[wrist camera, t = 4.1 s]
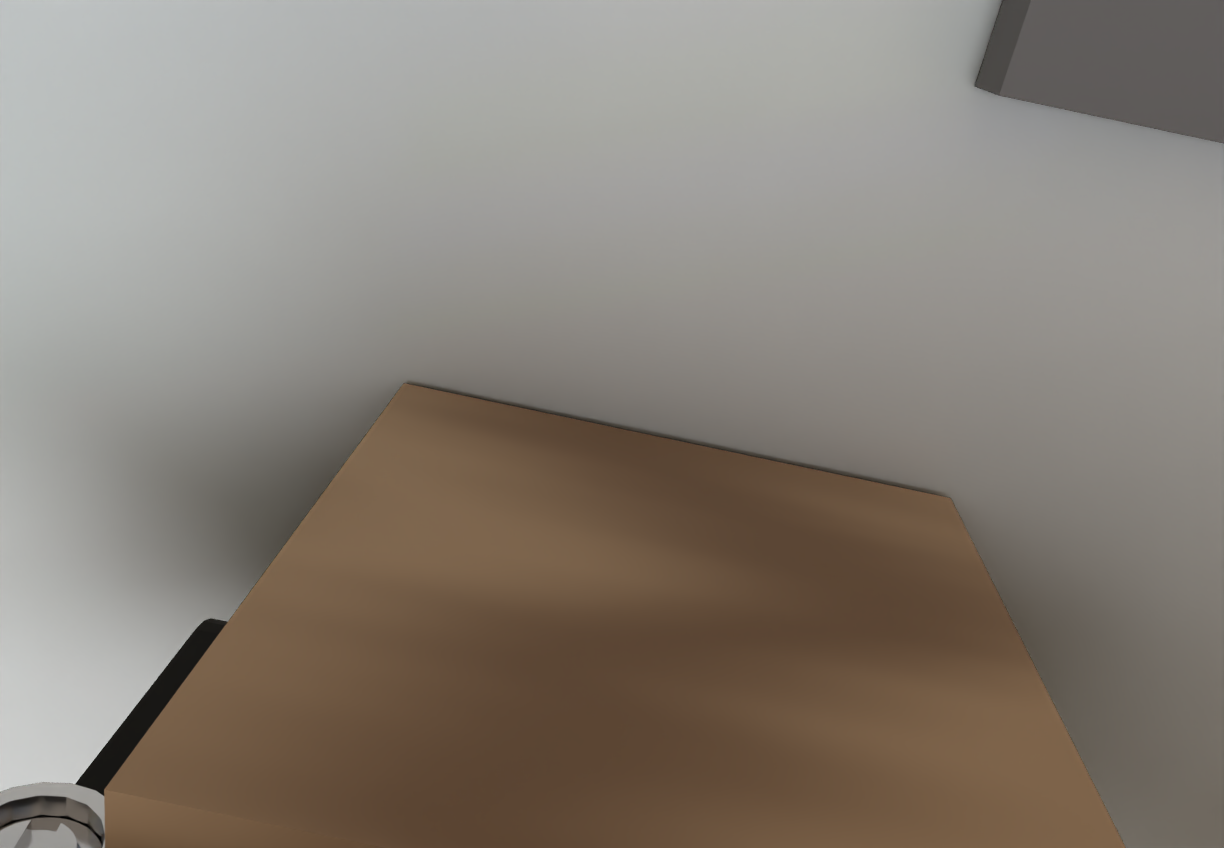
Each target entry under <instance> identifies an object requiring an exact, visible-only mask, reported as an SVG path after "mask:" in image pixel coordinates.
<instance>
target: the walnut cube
mask: <svg viewBox="0 0 1224 848" xmlns="http://www.w3.org/2000/svg"><path fill="white" fill-rule="evenodd" d="M104 808H105V848H1126V847H1125V845H1124V843H1123V841H1122V839H1121V837H1120V835H1119V833H1118V831H1117V829H1116V827H1115V825H1114V823H1113V821H1112V819H1111V817H1110V815H1109V813H1108V811H1107V809H1106V807H1105V805H1104V803H1103V801H1102V799H1101V797H1100V795H1099V793H1098V791H1097V789H1096V787H1095V785H1094V783H1093V781H1092V779H1091V777H1090V775H1089V773H1088V771H1087V769H1086V767H1085V765H1084V763H1083V761H1082V759H1081V757H1080V755H1079V753H1078V751H1077V749H1076V747H1075V745H1074V743H1073V741H1072V739H1071V737H1070V735H1069V733H1068V731H1067V729H1066V727H1065V725H1064V723H1063V721H1062V719H1061V717H1060V715H1059V713H1058V711H1057V709H1056V707H1055V705H1054V703H1053V702H1052V700H1051V698H1050V696H1049V694H1048V692H1047V690H1046V688H1045V686H1044V684H1043V682H1042V680H1041V678H1040V676H1039V674H1038V672H1037V670H1036V668H1035V666H1034V664H1033V662H1032V660H1031V658H1030V656H1029V654H1028V652H1027V650H1026V648H1025V646H1024V644H1023V642H1022V640H1021V638H1020V636H1019V634H1018V632H1017V630H1016V628H1015V626H1014V624H1013V622H1012V620H1011V618H1010V616H1009V614H1008V612H1007V610H1006V608H1005V606H1004V604H1003V602H1002V600H1001V598H1000V596H999V594H998V592H997V590H996V588H995V586H994V584H993V582H992V580H991V578H990V576H989V574H988V572H987V570H986V568H985V566H984V564H983V562H982V560H981V558H980V556H979V554H978V552H977V550H976V548H975V546H974V544H973V542H972V540H971V538H970V536H969V534H968V532H967V530H966V528H965V526H964V524H963V522H962V520H961V518H960V516H959V514H958V512H957V510H956V508H955V506H954V504H953V502H952V500H951V498H948V497H943V496H938V495H933V494H929V493H924V492H919V491H914V490H910V489H905V488H900V487H895V486H891V485H886V484H881V483H876V482H872V481H867V480H862V479H857V478H853V477H848V476H843V475H838V474H834V473H829V472H824V471H819V470H815V469H810V468H805V467H800V466H796V465H791V464H786V463H781V462H777V461H772V460H767V459H762V458H757V457H753V456H748V455H743V454H738V453H734V452H729V451H724V450H719V449H715V448H710V447H705V446H700V445H696V444H691V443H686V442H681V441H677V440H672V439H667V438H662V437H658V436H653V435H648V434H643V433H639V432H634V431H629V430H624V429H620V428H615V427H610V426H605V425H601V424H596V423H591V422H586V421H582V420H577V419H572V418H567V417H563V416H558V415H553V414H548V413H544V412H539V411H534V410H529V409H525V408H520V407H515V406H510V405H506V404H501V403H496V402H491V401H486V400H482V399H477V398H472V397H467V396H463V395H458V394H453V393H448V392H444V391H439V390H434V389H429V388H425V387H420V386H415V385H410V384H406V383H404V384H403V385H402V386H401V388H400V389H399V390H398V392H397V393H396V394H395V396H394V397H393V398H392V400H391V401H390V403H389V404H388V405H387V407H386V408H385V409H384V411H383V412H382V413H381V415H380V416H379V417H378V419H377V420H376V422H375V423H374V424H373V426H372V427H371V428H370V430H369V431H368V432H367V434H366V435H365V436H364V438H363V439H362V441H361V442H360V443H359V445H358V446H357V447H356V449H355V450H354V451H353V453H352V454H351V455H350V457H349V458H348V460H347V461H346V462H345V464H344V465H343V466H342V468H341V469H340V470H339V472H338V473H337V474H336V476H335V477H334V479H333V480H332V481H331V483H330V484H329V485H328V487H327V488H326V489H325V491H324V492H323V493H322V495H321V496H320V498H319V499H318V500H317V502H316V503H315V504H314V506H313V507H312V508H311V510H310V511H309V512H308V514H307V515H306V517H305V518H304V519H303V521H302V522H301V523H300V525H299V526H298V527H297V529H296V530H295V531H294V533H293V534H292V536H291V537H290V538H289V540H288V541H287V542H286V544H285V545H284V546H283V548H282V549H281V550H280V552H279V553H278V555H277V556H276V557H275V559H274V560H273V561H272V563H271V564H270V565H269V567H268V568H267V569H266V571H265V572H264V574H263V575H262V576H261V578H260V579H259V580H258V582H257V583H256V584H255V586H254V587H253V588H252V590H251V591H250V593H249V594H248V595H247V597H246V598H245V599H244V601H243V602H242V603H241V605H240V606H239V607H238V609H237V610H236V612H235V613H234V614H233V616H232V617H231V618H230V620H229V621H228V622H227V624H226V625H225V626H224V628H223V629H222V631H221V632H220V633H219V635H218V636H217V637H216V639H215V640H214V641H213V643H212V644H211V645H210V647H209V648H208V650H207V651H206V652H205V654H204V655H203V656H202V658H201V659H200V660H199V662H198V663H197V664H196V666H195V667H194V669H193V670H192V671H191V673H190V674H189V675H188V677H187V678H186V679H185V681H184V682H183V683H182V685H181V686H180V688H179V689H178V690H177V692H176V693H175V694H174V696H173V697H172V698H171V700H170V701H169V702H168V704H167V705H166V707H165V708H164V709H163V711H162V712H161V713H160V715H159V716H158V717H157V719H156V720H155V721H154V723H153V724H152V726H151V727H150V728H149V730H148V731H147V732H146V734H145V735H144V736H143V738H142V739H141V740H140V742H139V743H138V745H137V746H136V747H135V749H134V750H133V751H132V753H131V754H130V755H129V757H128V758H127V759H126V761H125V762H124V764H123V765H122V766H121V768H120V769H119V770H118V772H117V773H116V774H115V776H114V777H113V778H112V780H111V781H110V783H109V784H108V785H107V787H106V788H105V789H104Z"/></svg>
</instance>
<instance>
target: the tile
mask: <svg viewBox="0 0 1224 848" xmlns="http://www.w3.org/2000/svg"><path fill="white" fill-rule="evenodd" d="M975 87H977V88H980V89H983V90H986V91H988V92H991V93H994V94H997V95H1000V96H1004V97H1009V98H1014V99H1018V100H1023V101H1028V102H1033V103H1037V104H1042V105H1047V106H1051V107H1056V108H1061V109H1065V110H1070V111H1075V112H1079V113H1084V114H1089V115H1093V116H1098V117H1103V118H1107V119H1112V120H1117V121H1122V122H1126V123H1131V124H1136V125H1140V126H1145V127H1150V128H1154V129H1159V130H1164V131H1168V132H1173V133H1178V134H1182V135H1187V136H1192V137H1197V138H1201V139H1206V140H1211V141H1215V142H1220V143H1224V0H1003V2H1002V5H1001V8H1000V11H999V14H998V17H997V20H996V23H995V26H994V29H993V32H992V35H991V39H990V42H989V45H988V48H987V51H986V54H985V57H984V60H983V63H982V66H981V69H980V72H979V75H978V78H977V81H976V84H975Z"/></svg>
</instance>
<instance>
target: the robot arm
mask: <svg viewBox="0 0 1224 848" xmlns="http://www.w3.org/2000/svg"><path fill="white" fill-rule="evenodd" d="M226 624H227V622H226V621H221V620H216V619H208V620H205V621H203V622H202V623H201V624H200V625H199V626H198V627H197V628H196V630H195V631H194V632H193V633H192V635H191V636H190V637H189V639H188V640H187V641H186V642H185V644H184V645H183V646H182V648H181V649H180V650H179V651H178V653H177V654H176V655H175V657H174V658H173V659H172V660H171V662H170V663H169V664H168V666H167V667H166V668H165V669H164V671H163V672H162V673H161V675H160V676H159V677H158V678H157V680H156V681H155V682H154V684H153V685H152V686H151V687H150V689H149V690H148V691H147V693H146V694H145V695H144V696H143V698H142V699H141V700H140V702H139V703H138V704H137V705H136V707H135V708H134V709H133V711H132V712H131V713H130V714H129V716H128V717H127V718H126V720H125V721H124V722H123V723H122V725H121V726H120V727H119V729H118V730H117V731H116V732H115V734H114V735H113V736H112V738H111V739H110V740H109V741H108V743H107V744H106V745H105V747H104V748H103V749H102V750H101V752H100V753H99V754H98V756H97V757H96V758H95V759H94V761H93V762H92V763H91V765H90V766H89V767H88V768H87V770H86V771H85V772H84V774H83V775H82V776H81V777H80V779H79V780H78V781H77V783H76V784H72V783H50V782H41V783H35V784H29V785H23V786H17V787H12V788H9V789H7V790H4V791H1V792H0V848H105V808H104V789H105V788H106V787H107V785H108V784H109V783H110V781H111V780H112V778H113V777H114V776H115V774H116V773H117V772H118V770H119V769H120V768H121V766H122V765H123V764H124V762H125V761H126V759H127V758H128V757H129V755H130V754H131V753H132V751H133V750H134V749H135V747H136V746H137V745H138V743H139V742H140V740H141V739H142V738H143V736H144V735H145V734H146V732H147V731H148V730H149V728H150V727H151V726H152V724H153V723H154V721H155V720H156V719H157V717H158V716H159V715H160V713H161V712H162V711H163V709H164V708H165V707H166V705H167V704H168V702H169V701H170V700H171V698H172V697H173V696H174V694H175V693H176V692H177V690H178V689H179V688H180V686H181V685H182V683H183V682H184V681H185V679H186V678H187V677H188V675H189V674H190V673H191V671H192V670H193V669H194V667H195V666H196V664H197V663H198V662H199V660H200V659H201V658H202V656H203V655H204V654H205V652H206V651H207V650H208V648H209V647H210V645H211V644H212V643H213V641H214V640H215V639H216V637H217V636H218V635H219V633H220V632H221V631H222V629H223V628H224V626H225V625H226Z"/></svg>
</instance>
